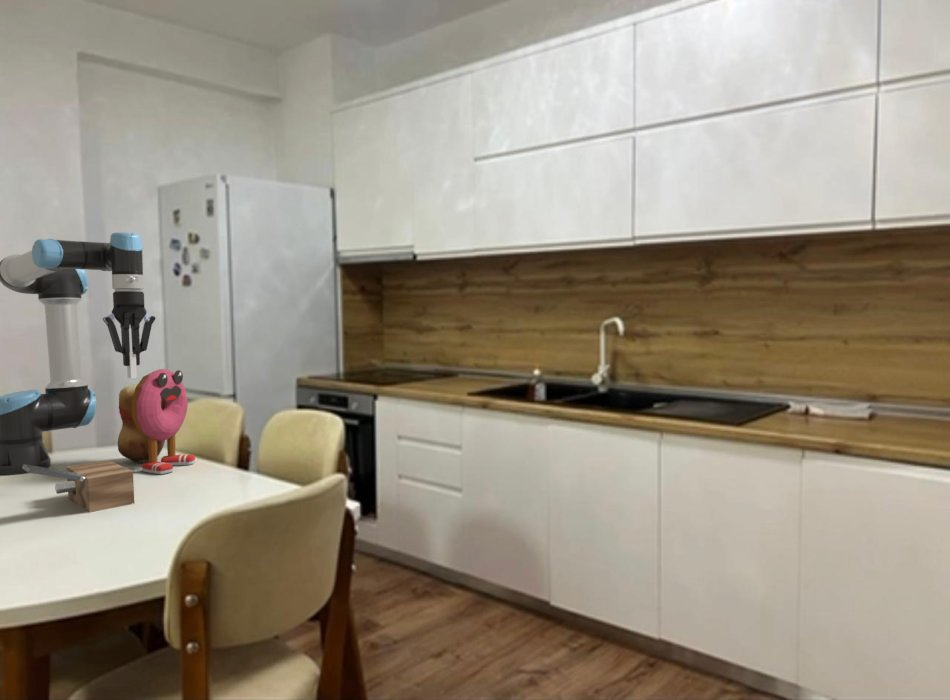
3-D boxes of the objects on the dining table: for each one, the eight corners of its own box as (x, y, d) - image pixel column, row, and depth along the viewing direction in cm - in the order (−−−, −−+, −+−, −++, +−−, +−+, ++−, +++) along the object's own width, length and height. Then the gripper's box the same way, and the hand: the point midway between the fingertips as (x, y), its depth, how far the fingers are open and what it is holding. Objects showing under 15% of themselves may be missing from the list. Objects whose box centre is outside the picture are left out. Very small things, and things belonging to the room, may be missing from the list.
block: (68, 497, 174) (66, 466, 173) (110, 489, 181) (109, 460, 181) (89, 512, 161) (88, 479, 161) (134, 503, 168) (132, 471, 168)
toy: (158, 477, 194) (154, 373, 192) (127, 476, 196) (123, 372, 194) (203, 460, 214) (199, 366, 212) (174, 459, 216) (170, 366, 215)
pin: (120, 484, 180) (119, 466, 180) (126, 488, 177) (125, 469, 176) (54, 496, 170) (53, 476, 169) (60, 500, 166) (59, 480, 166)
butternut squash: (110, 463, 212) (106, 384, 210) (151, 455, 223) (148, 379, 221) (134, 469, 204) (130, 386, 202) (175, 460, 215) (172, 382, 213)
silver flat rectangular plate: (75, 477, 166) (21, 468, 158) (77, 472, 166) (23, 463, 158) (84, 482, 161) (28, 473, 153) (86, 477, 161) (30, 468, 153)
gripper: (106, 290, 176) (110, 380, 178) (158, 290, 185) (162, 376, 187) (97, 291, 181) (101, 378, 183) (148, 291, 190) (152, 375, 192)
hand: (132, 377), depth 185 cm, fingers closed
